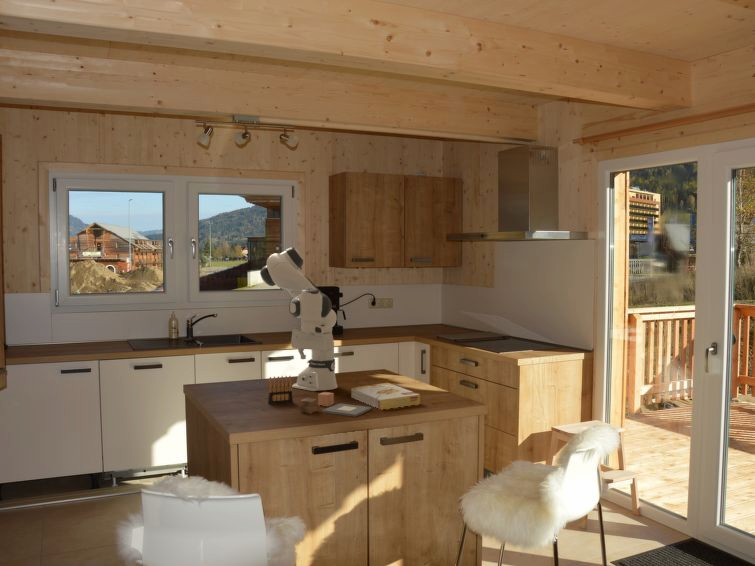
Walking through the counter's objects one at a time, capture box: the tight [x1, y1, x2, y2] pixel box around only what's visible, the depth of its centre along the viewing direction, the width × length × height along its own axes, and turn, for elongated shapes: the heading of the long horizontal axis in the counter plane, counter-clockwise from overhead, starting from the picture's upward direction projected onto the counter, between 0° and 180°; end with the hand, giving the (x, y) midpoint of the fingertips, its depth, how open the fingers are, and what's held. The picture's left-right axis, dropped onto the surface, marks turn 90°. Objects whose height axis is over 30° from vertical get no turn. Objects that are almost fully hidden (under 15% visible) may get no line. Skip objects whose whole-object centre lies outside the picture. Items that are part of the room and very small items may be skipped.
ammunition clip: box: [267, 375, 293, 405], centre depth 302 cm, size 11×2×12 cm, turn 111°
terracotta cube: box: [317, 391, 335, 407], centre depth 298 cm, size 5×5×5 cm
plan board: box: [321, 402, 372, 418], centre depth 287 cm, size 16×14×1 cm
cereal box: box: [350, 382, 421, 411], centre depth 305 cm, size 20×6×28 cm
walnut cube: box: [299, 397, 318, 414], centre depth 286 cm, size 5×5×5 cm
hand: (312, 360), depth 287 cm, fingers open, 8 cm apart
